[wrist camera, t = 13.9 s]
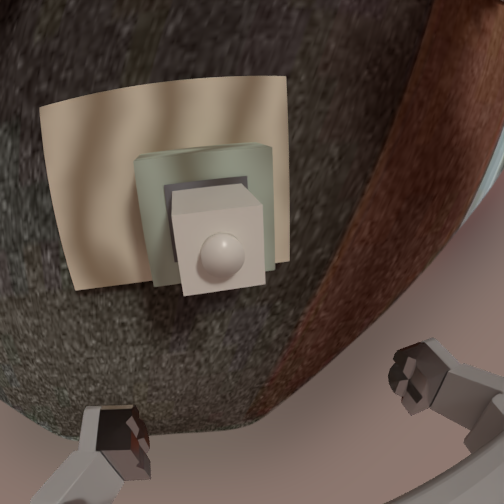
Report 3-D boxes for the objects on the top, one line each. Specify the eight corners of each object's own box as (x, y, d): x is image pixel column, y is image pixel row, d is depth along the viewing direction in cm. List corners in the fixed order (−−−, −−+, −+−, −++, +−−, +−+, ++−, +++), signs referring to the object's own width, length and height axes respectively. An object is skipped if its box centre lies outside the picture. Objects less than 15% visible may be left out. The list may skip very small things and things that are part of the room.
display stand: (280, 78, 26) (308, 68, 21) (284, 255, 34) (308, 285, 28) (45, 107, 22) (13, 107, 16) (78, 283, 30) (62, 320, 24)
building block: (241, 183, 23) (266, 208, 17) (245, 246, 25) (268, 290, 19) (172, 191, 22) (171, 220, 16) (180, 255, 24) (184, 303, 18)
